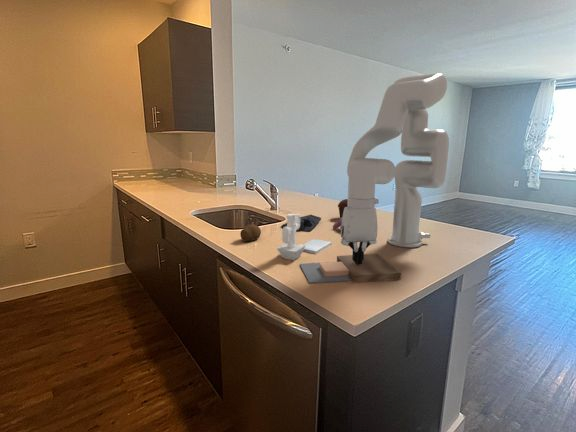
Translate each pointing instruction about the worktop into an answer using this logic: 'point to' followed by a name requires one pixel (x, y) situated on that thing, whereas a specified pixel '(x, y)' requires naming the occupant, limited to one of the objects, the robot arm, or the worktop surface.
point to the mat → (320, 274)
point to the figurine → (291, 238)
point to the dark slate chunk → (306, 223)
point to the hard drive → (316, 246)
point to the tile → (334, 269)
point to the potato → (250, 233)
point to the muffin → (342, 206)
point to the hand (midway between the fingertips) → (357, 262)
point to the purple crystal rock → (338, 224)
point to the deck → (370, 268)
